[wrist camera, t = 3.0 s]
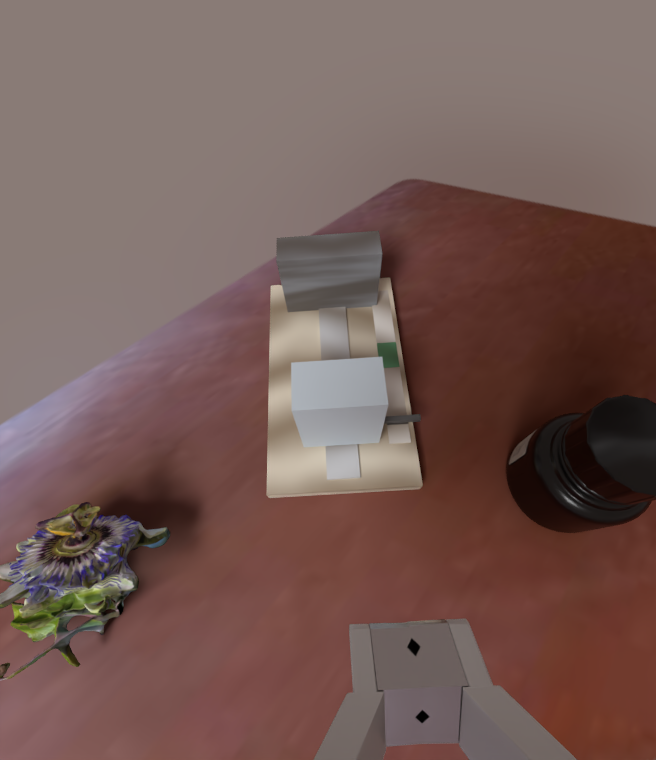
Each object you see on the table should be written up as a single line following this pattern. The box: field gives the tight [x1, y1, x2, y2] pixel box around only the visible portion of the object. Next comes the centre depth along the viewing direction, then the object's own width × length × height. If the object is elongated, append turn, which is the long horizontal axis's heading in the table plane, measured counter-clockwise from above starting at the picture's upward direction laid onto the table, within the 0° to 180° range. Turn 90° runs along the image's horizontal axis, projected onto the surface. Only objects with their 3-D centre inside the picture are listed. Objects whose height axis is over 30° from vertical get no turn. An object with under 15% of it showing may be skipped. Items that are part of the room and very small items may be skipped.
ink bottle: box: [507, 395, 656, 533], centre depth 31 cm, size 10×9×12 cm
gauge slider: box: [291, 357, 421, 447], centre depth 33 cm, size 6×11×9 cm, turn 93°
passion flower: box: [0, 502, 170, 680], centre depth 31 cm, size 11×11×12 cm
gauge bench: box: [267, 231, 423, 498], centre depth 37 cm, size 24×14×10 cm, turn 3°
